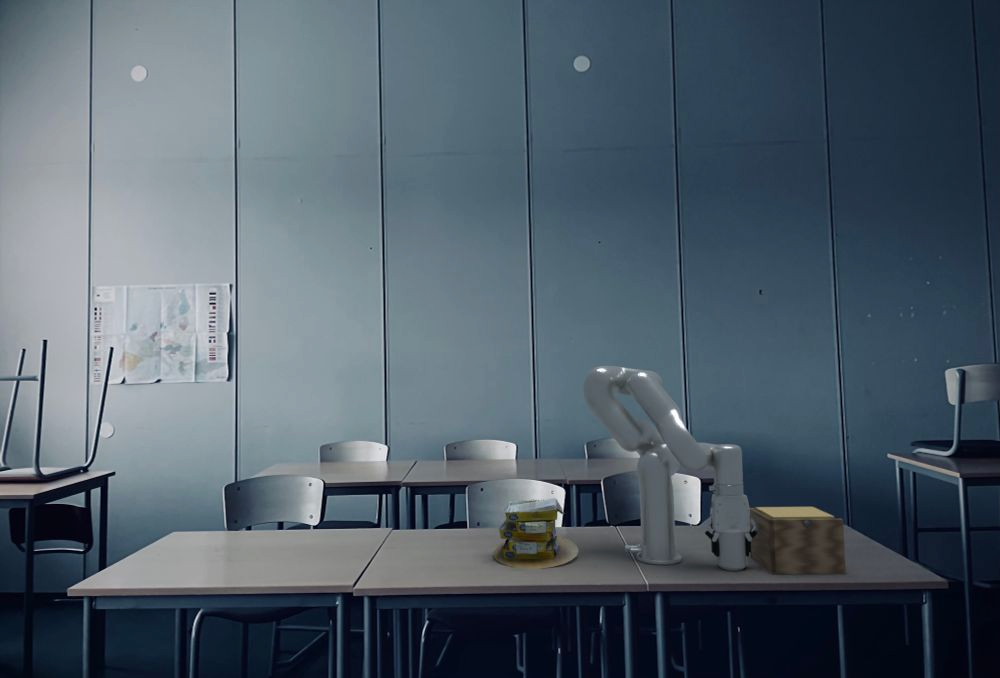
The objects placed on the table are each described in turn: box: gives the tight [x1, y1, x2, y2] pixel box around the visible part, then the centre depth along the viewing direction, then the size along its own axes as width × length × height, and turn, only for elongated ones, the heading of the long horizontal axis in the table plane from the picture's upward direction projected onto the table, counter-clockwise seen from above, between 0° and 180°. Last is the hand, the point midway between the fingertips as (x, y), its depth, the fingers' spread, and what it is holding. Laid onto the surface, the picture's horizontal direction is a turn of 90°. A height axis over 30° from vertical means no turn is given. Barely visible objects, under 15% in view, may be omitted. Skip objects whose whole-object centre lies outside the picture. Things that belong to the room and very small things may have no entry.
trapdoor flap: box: [755, 506, 836, 519], centre depth 187 cm, size 16×14×1 cm
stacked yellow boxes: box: [492, 497, 579, 570], centre depth 200 cm, size 25×25×17 cm
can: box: [716, 526, 747, 572], centre depth 185 cm, size 8×8×12 cm
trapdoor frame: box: [749, 506, 847, 575], centre depth 186 cm, size 19×19×14 cm
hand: (731, 554), depth 185 cm, fingers closed on can, 7 cm apart
